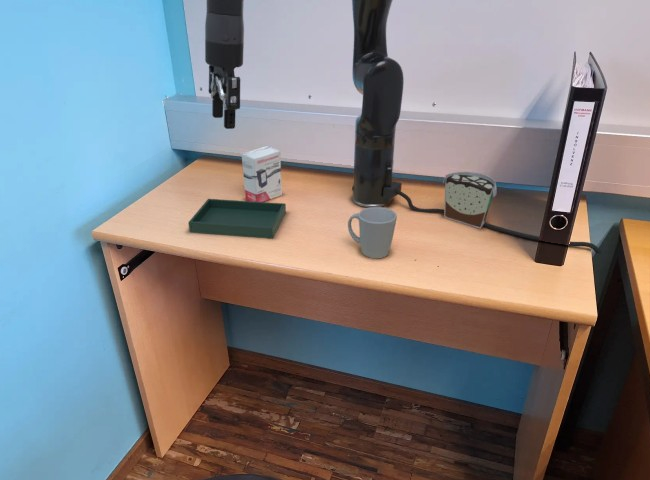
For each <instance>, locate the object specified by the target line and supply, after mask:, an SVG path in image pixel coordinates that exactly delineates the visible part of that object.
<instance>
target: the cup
mask: <svg viewBox="0 0 650 480" xmlns="http://www.w3.org/2000/svg"><path fill="white" fill-rule="evenodd" d="M353 219H357V220H358V230H359V236H358V235H357V234H356V233H355V232H354V230H353V228H352V222H353ZM397 219H398V214H397V213H396V212H395V211H394V210H393V209H390V208H387V207H384V206H382V207H365V208H364V209H361V210H360V211H359V212H357V213H354V214H352V215H351V216H350V217H349V219H348V221H347V231H348V233H349V236H350V237H351V239H352V240H353V241H354V242H356V243H357V244H358V245H360V249H361V253H362V255H363V256H365V257H367V258H370V259H383V258H385V257H387V256H389V254H390V251H391V247H392V242H393V238H394V235H395V234H394V233H395V228H396V224H397Z"/></svg>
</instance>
